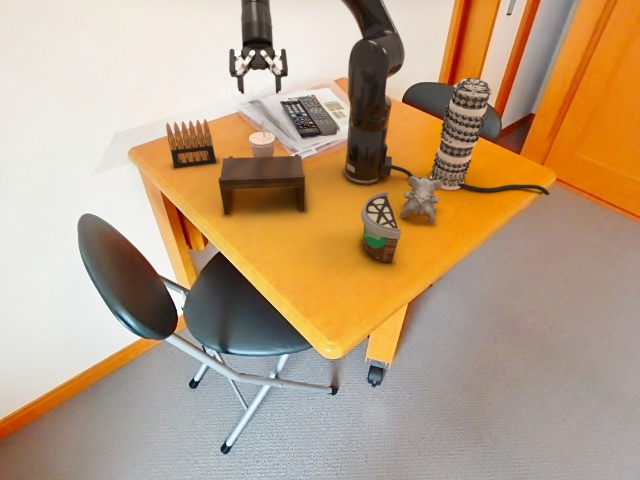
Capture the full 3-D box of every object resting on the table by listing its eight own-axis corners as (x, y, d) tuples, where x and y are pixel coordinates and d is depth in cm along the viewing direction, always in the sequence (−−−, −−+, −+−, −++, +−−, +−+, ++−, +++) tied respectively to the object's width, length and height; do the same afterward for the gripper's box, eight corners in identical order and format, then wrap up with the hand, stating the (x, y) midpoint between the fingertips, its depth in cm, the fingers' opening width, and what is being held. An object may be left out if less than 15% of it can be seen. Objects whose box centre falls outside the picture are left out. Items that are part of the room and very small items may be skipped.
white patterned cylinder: (421, 180, 101) (444, 81, 84) (439, 166, 106) (465, 70, 89) (453, 195, 97) (484, 94, 80) (471, 180, 102) (504, 82, 85)
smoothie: (273, 180, 99) (269, 128, 90) (248, 176, 100) (242, 125, 91) (280, 166, 104) (277, 116, 94) (256, 163, 105) (251, 113, 95)
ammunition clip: (215, 159, 106) (208, 116, 98) (216, 163, 104) (209, 120, 96) (174, 164, 103) (163, 121, 95) (174, 168, 102) (162, 124, 94)
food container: (353, 228, 86) (357, 191, 80) (380, 227, 87) (387, 190, 80) (362, 270, 77) (367, 231, 71) (393, 268, 78) (401, 230, 71)
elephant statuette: (401, 225, 88) (407, 197, 82) (392, 193, 96) (397, 166, 91) (442, 225, 88) (451, 198, 83) (430, 193, 97) (437, 166, 92)
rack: (298, 162, 106) (298, 129, 99) (304, 211, 90) (304, 176, 84) (230, 164, 104) (225, 131, 98) (224, 215, 89) (218, 180, 82)
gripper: (225, 19, 94) (228, 86, 94) (285, 19, 95) (289, 85, 95) (229, 36, 102) (232, 99, 101) (285, 36, 103) (288, 98, 102)
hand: (260, 92), depth 98 cm, fingers open, 8 cm apart
